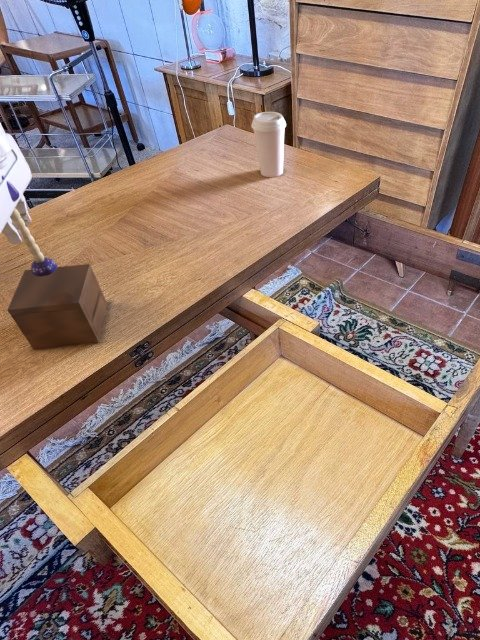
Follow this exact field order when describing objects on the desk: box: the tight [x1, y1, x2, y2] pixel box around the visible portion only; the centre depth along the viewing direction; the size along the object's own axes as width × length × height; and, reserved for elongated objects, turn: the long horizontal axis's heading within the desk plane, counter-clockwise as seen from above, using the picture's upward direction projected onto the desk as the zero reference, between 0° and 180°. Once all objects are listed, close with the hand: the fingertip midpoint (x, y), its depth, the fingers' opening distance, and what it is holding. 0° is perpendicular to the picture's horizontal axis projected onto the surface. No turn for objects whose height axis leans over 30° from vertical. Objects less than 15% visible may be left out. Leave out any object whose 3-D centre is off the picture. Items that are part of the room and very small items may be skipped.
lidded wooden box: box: [6, 263, 108, 350], centre depth 84 cm, size 12×12×10 cm
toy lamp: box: [2, 175, 58, 277], centre depth 71 cm, size 5×5×17 cm
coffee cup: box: [251, 111, 287, 178], centre depth 125 cm, size 10×10×15 cm
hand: (22, 233), depth 72 cm, fingers closed on toy lamp, 4 cm apart
